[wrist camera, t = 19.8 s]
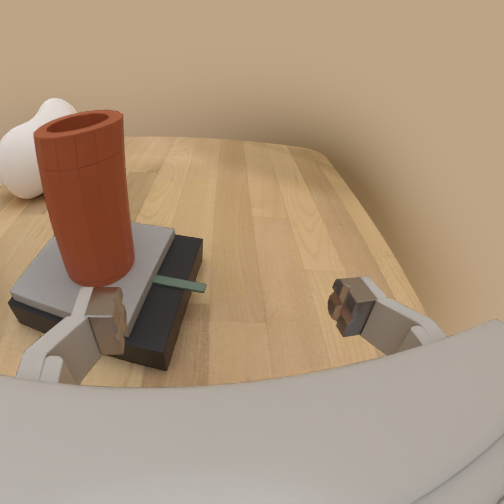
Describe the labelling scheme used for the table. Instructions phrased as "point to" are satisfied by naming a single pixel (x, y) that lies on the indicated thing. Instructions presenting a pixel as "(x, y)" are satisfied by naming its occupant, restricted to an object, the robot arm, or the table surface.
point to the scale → (133, 288)
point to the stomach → (27, 151)
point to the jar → (87, 194)
